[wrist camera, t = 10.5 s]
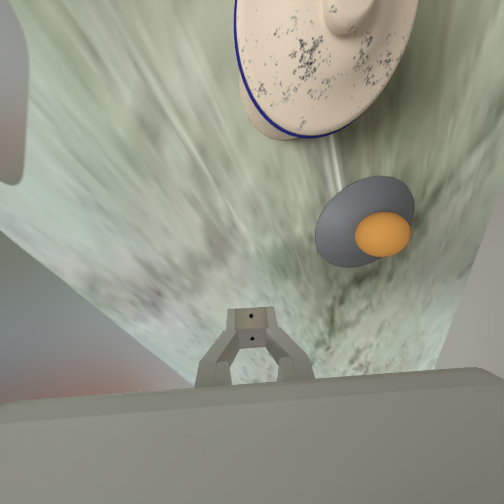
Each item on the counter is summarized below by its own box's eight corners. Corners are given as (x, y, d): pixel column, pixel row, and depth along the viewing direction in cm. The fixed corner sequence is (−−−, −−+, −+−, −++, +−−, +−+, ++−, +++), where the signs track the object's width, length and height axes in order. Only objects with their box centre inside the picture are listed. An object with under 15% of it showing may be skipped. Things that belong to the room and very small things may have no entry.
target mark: (324, 177, 21) (325, 177, 20) (431, 174, 21) (432, 174, 21) (308, 268, 27) (309, 269, 27) (390, 264, 28) (391, 265, 27)
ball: (349, 211, 22) (394, 228, 17) (383, 202, 23) (432, 215, 19) (341, 248, 25) (378, 271, 20) (371, 238, 26) (411, 257, 22)
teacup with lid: (333, 131, 18) (447, 107, 8) (248, 152, 19) (258, 154, 9) (337, -70, 12) (750, -1008, 2) (212, -31, 13) (117, -661, 3)
